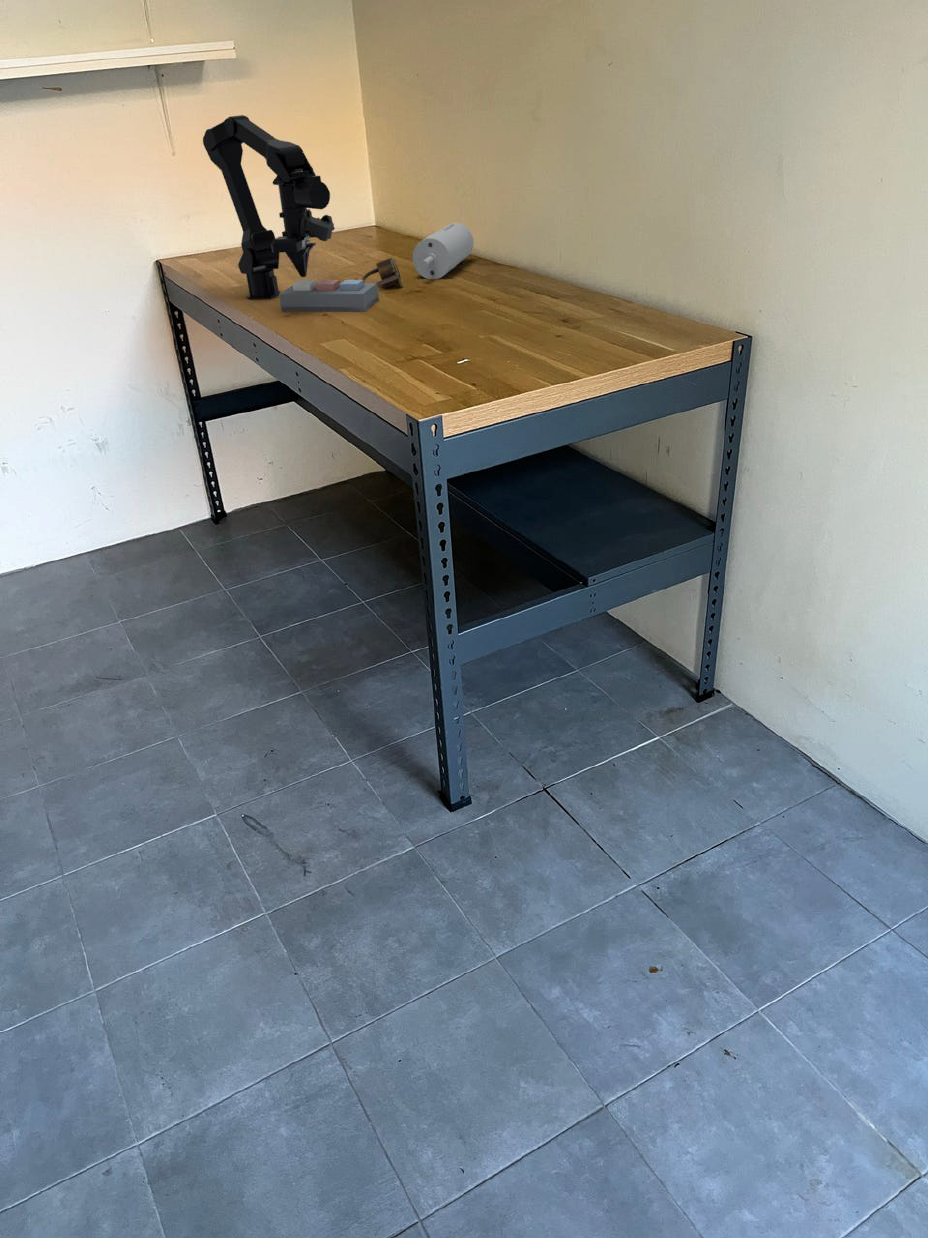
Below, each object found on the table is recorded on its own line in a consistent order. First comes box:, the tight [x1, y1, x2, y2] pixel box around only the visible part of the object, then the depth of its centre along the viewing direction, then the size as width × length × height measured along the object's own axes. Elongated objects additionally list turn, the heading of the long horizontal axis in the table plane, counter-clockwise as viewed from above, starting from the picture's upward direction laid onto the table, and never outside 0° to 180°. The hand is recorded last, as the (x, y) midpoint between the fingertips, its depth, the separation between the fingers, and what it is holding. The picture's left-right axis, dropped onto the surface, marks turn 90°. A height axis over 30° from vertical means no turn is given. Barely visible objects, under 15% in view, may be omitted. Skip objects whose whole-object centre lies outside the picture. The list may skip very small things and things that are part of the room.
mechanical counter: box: [353, 257, 404, 289], centre depth 238 cm, size 7×13×10 cm
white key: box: [292, 279, 318, 291], centre depth 225 cm, size 4×4×3 cm
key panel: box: [278, 282, 380, 313], centre depth 225 cm, size 21×11×4 cm, turn 77°
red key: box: [316, 279, 341, 291], centre depth 224 cm, size 4×4×3 cm
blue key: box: [340, 279, 365, 291], centre depth 223 cm, size 4×4×3 cm
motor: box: [412, 222, 474, 280], centre depth 250 cm, size 30×10×10 cm, turn 164°
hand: (303, 276), depth 224 cm, fingers closed
